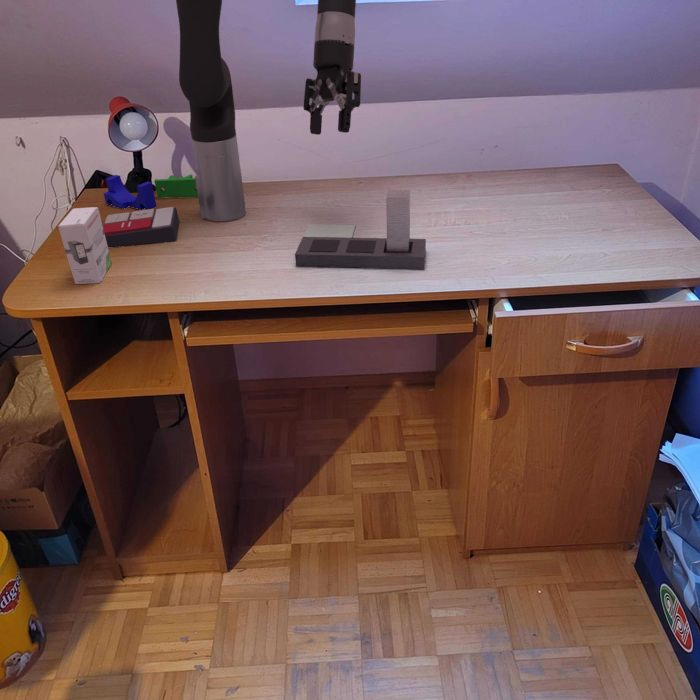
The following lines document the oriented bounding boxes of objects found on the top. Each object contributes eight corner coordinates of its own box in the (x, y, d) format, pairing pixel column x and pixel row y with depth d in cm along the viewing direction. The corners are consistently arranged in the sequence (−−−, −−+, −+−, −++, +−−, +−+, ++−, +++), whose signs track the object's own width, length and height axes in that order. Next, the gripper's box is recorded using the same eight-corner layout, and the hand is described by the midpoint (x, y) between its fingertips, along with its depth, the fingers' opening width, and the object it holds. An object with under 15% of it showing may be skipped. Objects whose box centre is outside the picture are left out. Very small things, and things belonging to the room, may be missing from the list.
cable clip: (106, 205, 157) (100, 180, 154) (121, 199, 160) (115, 174, 157) (142, 214, 152) (136, 188, 148) (156, 207, 155) (151, 182, 152)
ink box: (87, 264, 130) (71, 206, 124) (113, 263, 130) (98, 205, 124) (74, 285, 123) (56, 225, 117) (101, 283, 123) (84, 223, 117)
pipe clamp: (207, 192, 162) (204, 174, 160) (204, 198, 159) (201, 179, 157) (161, 193, 163) (158, 175, 160) (157, 199, 160) (154, 180, 157)
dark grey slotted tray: (295, 266, 126) (294, 253, 125) (303, 248, 133) (302, 236, 131) (424, 269, 123) (424, 256, 122) (425, 250, 130) (425, 238, 128)
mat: (299, 246, 134) (299, 244, 133) (308, 226, 142) (308, 224, 142) (349, 247, 132) (349, 245, 132) (355, 227, 141) (355, 225, 140)
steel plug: (386, 263, 126) (386, 197, 118) (388, 254, 129) (388, 189, 122) (408, 264, 125) (408, 197, 118) (409, 255, 128) (410, 189, 121)
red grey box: (105, 213, 144) (175, 203, 145) (111, 231, 146) (180, 222, 147) (96, 233, 135) (171, 223, 136) (103, 253, 137) (176, 242, 138)
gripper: (295, 44, 128) (291, 132, 131) (343, 32, 118) (337, 128, 121) (326, 52, 133) (321, 137, 136) (374, 41, 123) (368, 134, 126)
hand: (329, 133), depth 128 cm, fingers open, 8 cm apart
